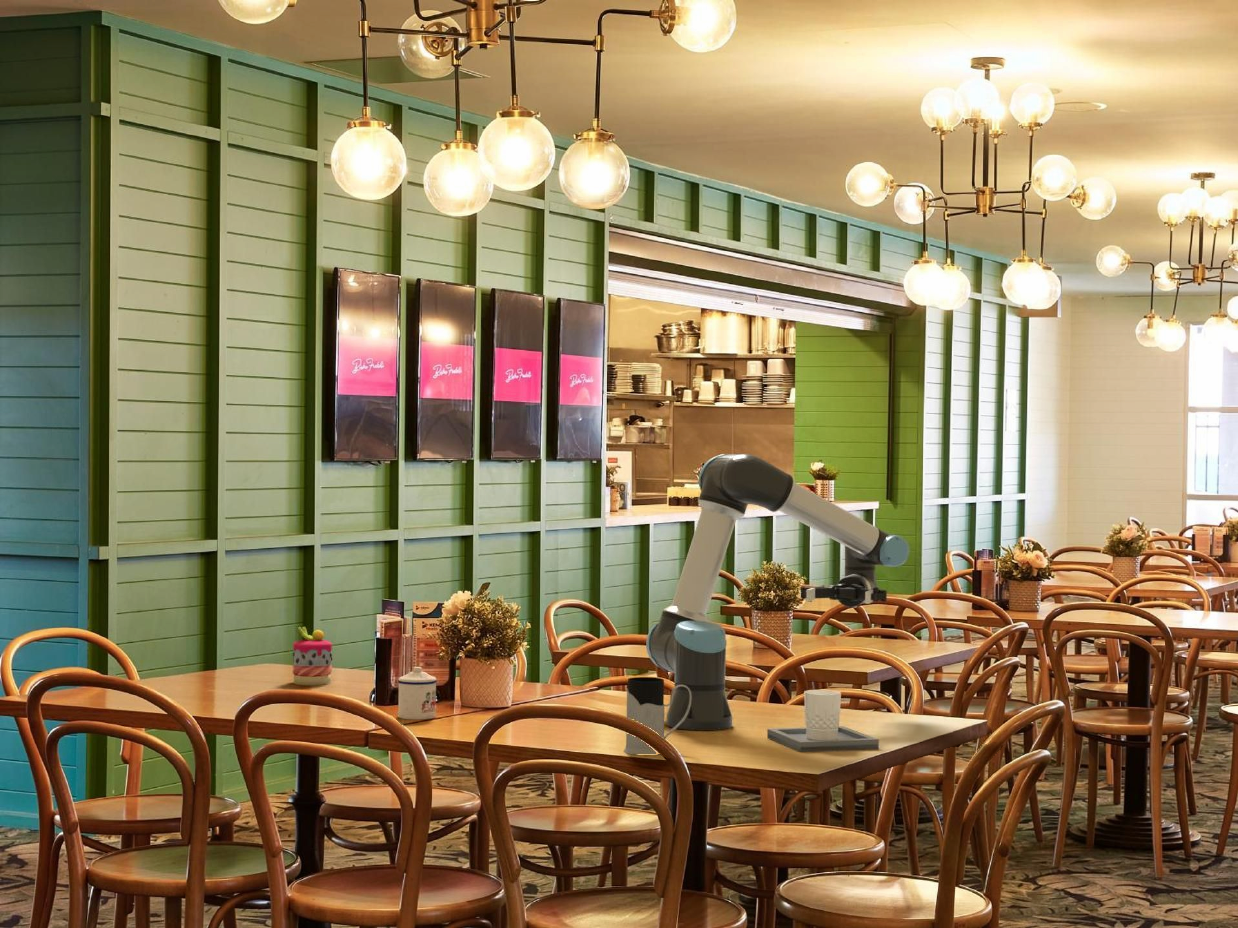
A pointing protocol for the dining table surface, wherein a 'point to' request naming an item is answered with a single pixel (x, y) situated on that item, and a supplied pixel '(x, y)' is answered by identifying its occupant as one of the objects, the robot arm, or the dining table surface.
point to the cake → (312, 659)
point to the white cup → (822, 714)
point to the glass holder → (648, 710)
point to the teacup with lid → (417, 695)
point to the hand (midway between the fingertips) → (837, 596)
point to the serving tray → (845, 740)
